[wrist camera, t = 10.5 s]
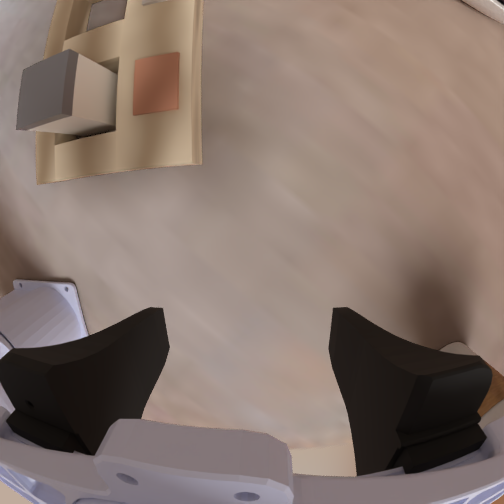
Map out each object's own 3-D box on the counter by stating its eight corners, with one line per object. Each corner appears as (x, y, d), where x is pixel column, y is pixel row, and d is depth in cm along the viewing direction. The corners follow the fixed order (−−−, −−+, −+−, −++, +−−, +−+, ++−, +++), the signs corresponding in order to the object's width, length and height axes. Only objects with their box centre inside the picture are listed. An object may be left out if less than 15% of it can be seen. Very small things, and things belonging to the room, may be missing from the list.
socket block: (58, 181, 20) (34, 185, 17) (78, -7, 15) (62, -20, 12) (202, 164, 20) (190, 163, 16) (206, -43, 14) (199, -64, 11)
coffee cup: (416, 345, 23) (495, 462, 9) (481, 320, 22) (567, 404, 8) (408, 404, 25) (457, 508, 11) (467, 379, 24) (527, 463, 10)
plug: (83, 136, 19) (16, 129, 11) (86, 90, 18) (23, 70, 10) (125, 128, 19) (61, 113, 11) (127, 80, 18) (69, 48, 10)
